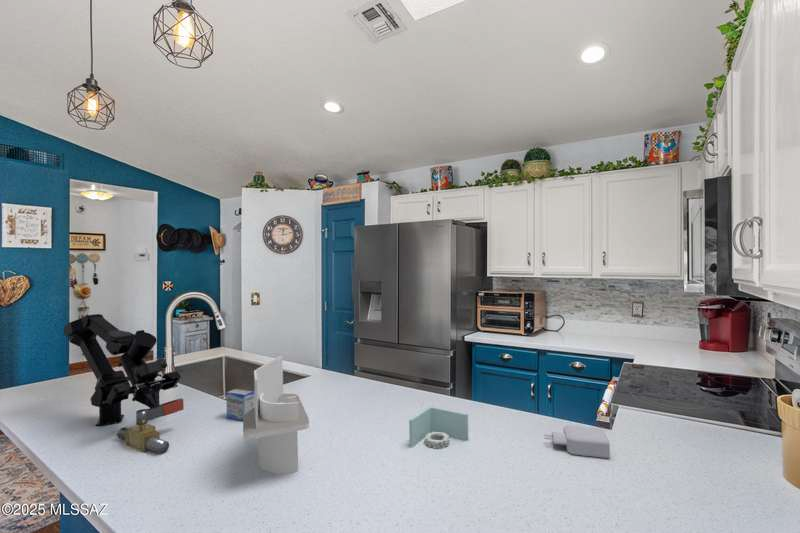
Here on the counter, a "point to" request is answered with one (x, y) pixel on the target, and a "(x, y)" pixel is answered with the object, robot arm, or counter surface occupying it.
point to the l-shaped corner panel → (438, 427)
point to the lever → (158, 411)
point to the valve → (143, 438)
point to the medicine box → (239, 403)
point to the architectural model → (275, 420)
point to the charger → (583, 441)
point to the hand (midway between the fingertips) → (157, 409)
